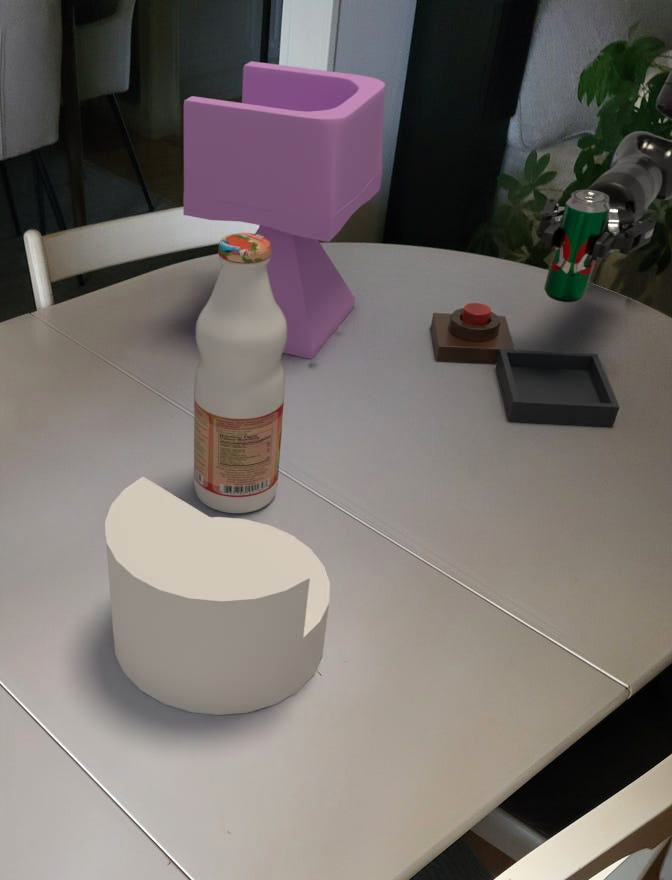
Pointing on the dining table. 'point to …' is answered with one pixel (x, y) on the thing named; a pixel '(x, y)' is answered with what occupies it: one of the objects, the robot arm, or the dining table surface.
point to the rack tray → (555, 388)
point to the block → (469, 338)
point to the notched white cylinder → (211, 604)
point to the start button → (476, 314)
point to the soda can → (576, 245)
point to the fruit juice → (239, 382)
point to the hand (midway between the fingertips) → (572, 246)
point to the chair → (289, 179)
